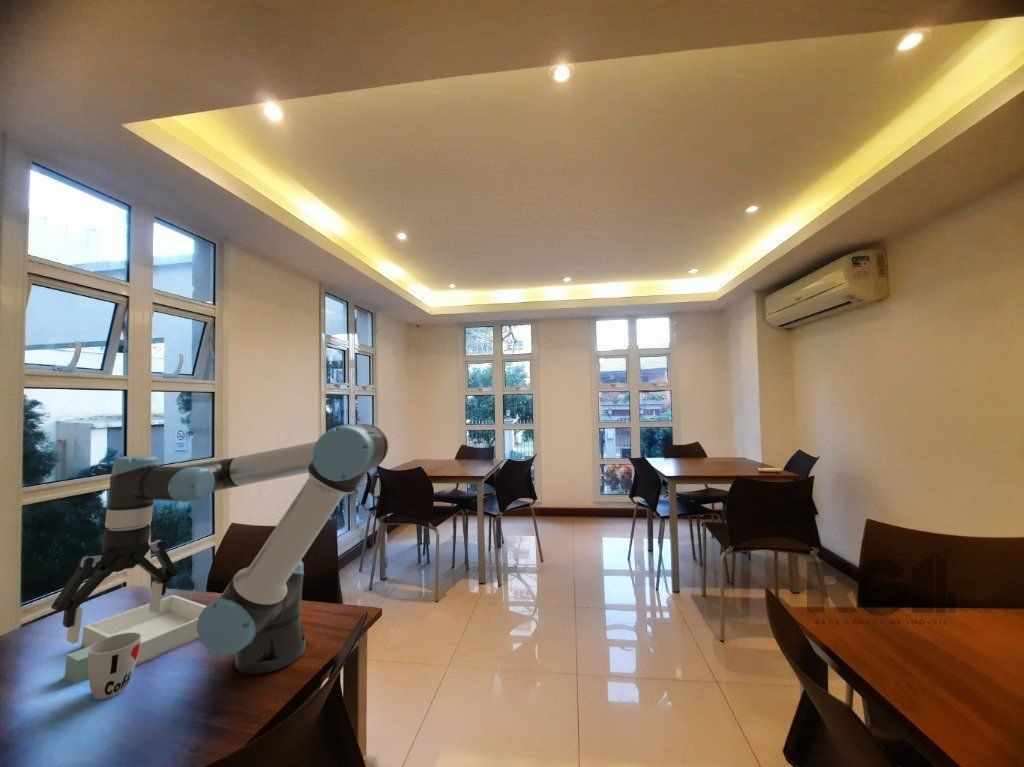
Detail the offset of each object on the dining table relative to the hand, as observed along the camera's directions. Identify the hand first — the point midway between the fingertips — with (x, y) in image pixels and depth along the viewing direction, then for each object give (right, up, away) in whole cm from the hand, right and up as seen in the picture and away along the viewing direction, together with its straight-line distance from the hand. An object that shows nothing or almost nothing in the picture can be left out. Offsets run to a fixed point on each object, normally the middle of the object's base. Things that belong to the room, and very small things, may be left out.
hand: (116, 625), depth 86 cm
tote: (-9, -15, +19) cm, 26 cm away
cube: (-11, -14, +4) cm, 18 cm away
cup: (0, -14, -1) cm, 14 cm away
